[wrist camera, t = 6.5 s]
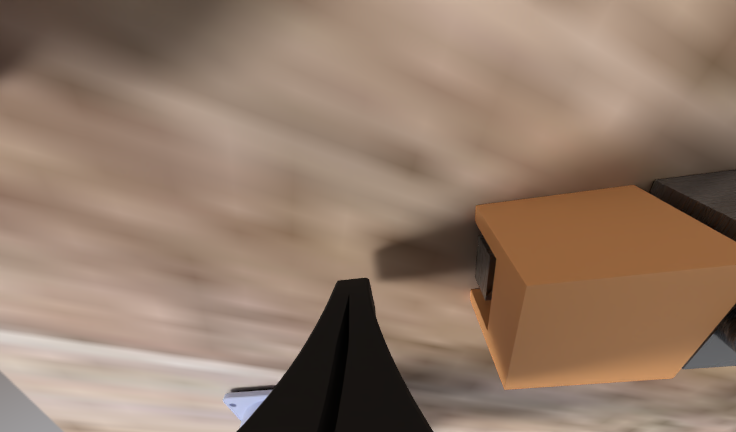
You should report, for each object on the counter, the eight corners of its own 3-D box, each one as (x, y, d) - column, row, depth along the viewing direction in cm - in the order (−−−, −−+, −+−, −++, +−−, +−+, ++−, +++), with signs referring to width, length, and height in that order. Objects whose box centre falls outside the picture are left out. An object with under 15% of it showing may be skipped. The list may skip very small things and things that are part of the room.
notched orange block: (592, 287, 14) (672, 378, 10) (470, 299, 14) (504, 389, 11) (633, 184, 11) (770, 260, 7) (475, 204, 11) (526, 285, 8)
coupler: (674, 282, 13) (803, 386, 9) (473, 300, 14) (513, 403, 10) (745, 168, 10) (986, 253, 6) (480, 201, 11) (543, 294, 7)
